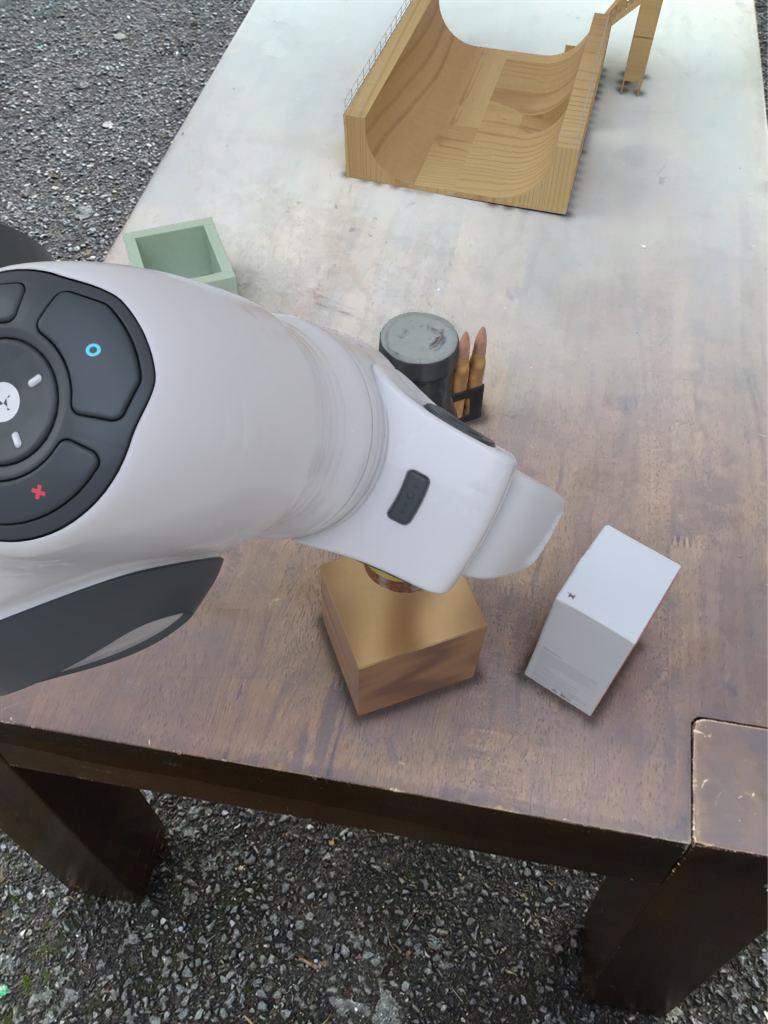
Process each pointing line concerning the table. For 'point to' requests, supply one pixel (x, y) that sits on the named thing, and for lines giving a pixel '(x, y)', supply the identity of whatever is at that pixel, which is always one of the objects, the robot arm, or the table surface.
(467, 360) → the ammunition clip
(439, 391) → the sauce bottle
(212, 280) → the holder
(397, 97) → the skate ramp
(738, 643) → the table surface
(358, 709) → the wooden stand
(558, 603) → the small box
